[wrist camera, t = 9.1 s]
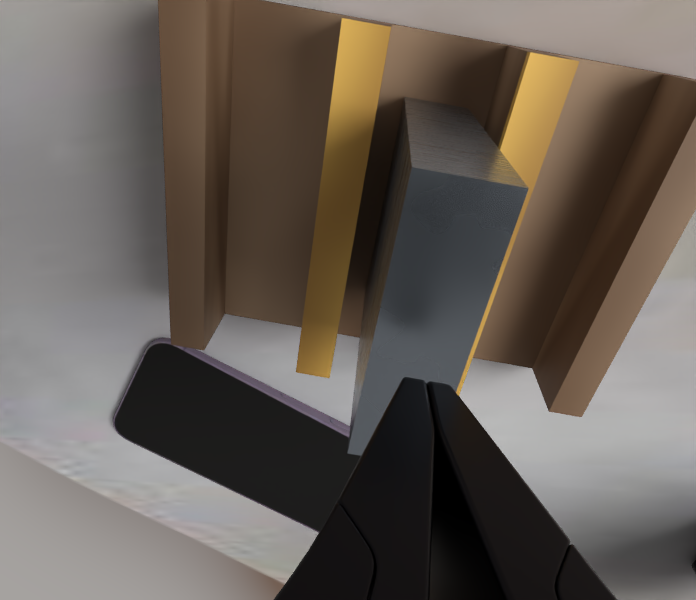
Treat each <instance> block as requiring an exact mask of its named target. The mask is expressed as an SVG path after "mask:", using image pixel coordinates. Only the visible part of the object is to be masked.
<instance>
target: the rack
mask: <svg viewBox="0 0 696 600" xmlns="http://www.w3.org/2000/svg"><path fill="white" fill-rule="evenodd" d="M158 11H159V38H160V65H161V91H162V118H163V145H164V172H165V199H166V225H167V252H168V279H169V306H170V332H171V345H176V346H182V347H187V348H193V349H199V350H205V348H206V346H207V344H208V342H209V341H210V339H211V337H212V335H213V334H214V332H215V330H216V328H217V327H218V325H219V323H220V321H221V320H222V318H223V316H224V314H230V315H235V316H241V317H247V318H252V319H258V320H263V321H269V322H275V323H280V324H286V325H292V326H297V327H302V329H301V337H300V345H299V353H298V360H297V368H296V372H298V373H303V374H309V375H315V376H320V377H326V378H329V377H330V372H331V366H332V361H333V355H334V350H335V344H336V339H337V334H342V335H348V336H354V337H359V338H360V333H361V324H362V315H363V306H364V297H365V289H366V284H367V279H368V274H369V269H370V265H371V260H372V255H373V250H374V245H375V240H376V235H377V230H378V225H379V220H380V215H381V210H382V205H383V200H384V195H385V190H386V186H387V181H388V176H389V171H390V166H391V161H392V156H393V151H394V146H395V141H396V136H397V131H398V126H399V121H400V116H401V112H402V107H403V102H404V97H409V98H414V99H420V100H425V101H431V102H436V103H442V104H447V105H453V106H458V107H464V108H468V109H469V110H470V111H471V113H472V114H473V115H474V117H475V118H476V119H477V120H478V122H479V123H480V124H481V126H482V127H483V128H484V130H485V131H486V132H487V134H488V135H489V136H490V138H491V139H492V140H493V142H494V143H495V144H496V146H497V147H498V148H499V150H500V151H501V152H502V153H503V155H504V156H505V157H506V159H507V160H508V161H509V163H510V164H511V165H512V167H513V168H514V169H515V171H516V172H517V173H518V175H519V176H520V177H521V179H522V180H523V181H524V183H525V184H526V185H527V186H528V188H529V189H528V192H527V195H526V198H525V201H524V203H523V206H522V209H521V212H520V215H519V217H518V220H517V223H516V226H515V229H514V231H513V234H512V237H511V240H510V243H509V245H508V248H507V251H506V254H505V257H504V259H503V262H502V265H501V268H500V271H499V273H498V276H497V279H496V282H495V285H494V287H493V290H492V293H491V296H490V299H489V301H488V304H487V307H486V310H485V313H484V315H483V318H482V321H481V324H480V327H479V329H478V332H477V335H476V338H475V341H474V343H473V346H472V349H471V352H470V355H469V357H468V360H467V363H466V366H465V369H464V371H463V374H462V377H461V380H460V383H459V385H458V388H457V391H456V393H457V394H458V396H459V394H460V391H461V388H462V386H463V383H464V380H465V377H466V375H467V372H468V369H469V366H470V363H471V361H472V358H478V359H483V360H489V361H495V362H500V363H506V364H512V365H517V366H523V367H528V368H532V369H533V371H534V374H535V377H536V379H537V382H538V384H539V387H540V390H541V392H542V395H543V397H544V400H545V403H546V405H547V408H548V410H549V412H555V413H561V414H566V415H572V416H578V417H582V415H583V414H584V412H585V410H586V408H587V406H588V405H589V403H590V401H591V399H592V397H593V395H594V394H595V392H596V390H597V388H598V386H599V384H600V383H601V381H602V379H603V377H604V375H605V374H606V372H607V370H608V368H609V366H610V364H611V363H612V361H613V359H614V357H615V355H616V353H617V352H618V350H619V348H620V346H621V344H622V343H623V341H624V339H625V337H626V335H627V333H628V332H629V330H630V328H631V326H632V324H633V322H634V321H635V319H636V317H637V315H638V313H639V312H640V310H641V308H642V306H643V304H644V302H645V301H646V299H647V297H648V295H649V293H650V291H651V290H652V288H653V286H654V284H655V282H656V280H657V279H658V277H659V275H660V273H661V271H662V270H663V268H664V266H665V264H666V262H667V260H668V259H669V257H670V255H671V253H672V251H673V249H674V248H675V246H676V244H677V242H678V240H679V239H680V237H681V235H682V233H683V231H684V229H685V228H686V226H687V224H688V222H689V220H690V218H691V217H692V215H693V213H694V211H695V209H696V79H691V78H687V77H681V76H676V75H670V74H665V73H659V72H654V71H648V70H643V69H637V68H632V67H626V66H621V65H615V64H610V63H604V62H599V61H593V60H588V59H582V58H577V57H571V56H566V55H560V54H555V53H549V52H544V51H538V50H533V49H527V48H522V47H516V46H511V45H505V44H500V43H494V42H489V41H483V40H478V39H472V38H467V37H461V36H456V35H450V34H445V33H439V32H434V31H428V30H423V29H418V28H412V27H407V26H401V25H396V24H390V23H385V22H379V21H374V20H368V19H363V18H357V17H352V16H346V15H341V14H335V13H330V12H324V11H319V10H313V9H308V8H302V7H297V6H291V5H286V4H280V3H275V2H269V1H264V0H158Z"/></svg>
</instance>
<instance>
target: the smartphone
mask: <svg viewBox="0 0 696 600" xmlns="http://www.w3.org/2000/svg"><path fill="white" fill-rule="evenodd" d="M113 425H114V428H115V430H116V431H117V433H118V434H119V435H121V436H122V437H123V438H125V439H126V440H128V441H130V442H132V443H134V444H136V445H138V446H140V447H142V448H144V449H147V450H149V451H151V452H153V453H155V454H157V455H159V456H161V457H163V458H165V459H167V460H169V461H171V462H174V463H176V464H178V465H180V466H182V467H184V468H186V469H188V470H190V471H192V472H194V473H196V474H199V475H201V476H203V477H205V478H207V479H209V480H211V481H213V482H215V483H217V484H219V485H221V486H223V487H226V488H228V489H230V490H232V491H234V492H236V493H238V494H240V495H242V496H244V497H246V498H248V499H251V500H253V501H255V502H257V503H259V504H261V505H263V506H265V507H267V508H269V509H271V510H273V511H275V512H278V513H280V514H282V515H284V516H286V517H288V518H290V519H292V520H294V521H296V522H298V523H300V524H302V525H305V526H307V527H309V528H311V529H313V530H315V531H317V532H320V530H321V529H322V527H323V525H324V524H325V522H326V520H327V518H328V516H329V514H330V512H331V511H332V509H333V507H334V505H335V504H336V503H337V500H338V498H339V496H340V494H341V492H342V491H343V489H344V487H345V485H346V483H347V481H348V479H349V478H350V476H351V474H352V472H353V470H354V468H355V466H356V464H357V463H358V461H359V459H360V457H361V456H360V455H354V454H348V453H347V452H348V443H349V434H350V426H348V425H346V424H344V423H342V422H340V421H338V420H336V419H334V418H332V417H330V416H328V415H326V414H324V413H322V412H320V411H318V410H316V409H314V408H312V407H310V406H308V405H306V404H304V403H302V402H300V401H298V400H296V399H294V398H292V397H290V396H288V395H286V394H284V393H282V392H280V391H278V390H276V389H274V388H272V387H270V386H268V385H266V384H264V383H262V382H260V381H258V380H256V379H254V378H252V377H250V376H248V375H246V374H244V373H242V372H240V371H238V370H236V369H234V368H232V367H230V366H228V365H226V364H224V363H222V362H220V361H218V360H216V359H214V358H212V357H210V356H208V355H206V354H204V353H202V352H200V351H198V350H196V349H193V348H187V347H182V346H176V345H171V339H170V338H159V339H156V340H154V341H153V342H152V343H150V344H149V346H148V347H147V348H146V350H145V352H144V354H143V356H142V358H141V360H140V362H139V364H138V366H137V369H136V371H135V373H134V375H133V377H132V379H131V381H130V383H129V386H128V388H127V390H126V392H125V394H124V396H123V398H122V400H121V402H120V405H119V407H118V409H117V411H116V413H115V415H114V418H113Z"/></svg>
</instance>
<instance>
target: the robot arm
mask: <svg viewBox="0 0 696 600" xmlns="http://www.w3.org/2000/svg"><path fill="white" fill-rule="evenodd" d="M692 568H693V570H694V571H695V573H696V561H695V562H694V563H693V564H692ZM274 600H617V599H616V598H615V596H614V595H613V594H612V593H611V591H610V590H609V589H608V588H607V586H606V585H605V584H604V583H603V581H602V580H601V579H600V578H599V576H598V575H597V574H596V573H595V571H594V570H593V569H592V568H591V566H590V565H589V564H588V563H587V561H586V560H585V559H584V557H583V556H582V555H581V553H580V552H579V551H578V550H577V548H576V547H575V546H574V545H570V540H569V538H568V537H567V536H566V534H565V533H564V532H563V530H562V529H561V528H560V527H559V525H558V524H557V523H556V521H555V520H554V519H553V518H552V516H551V515H550V514H549V512H548V511H547V510H546V508H545V507H544V506H543V505H542V503H541V502H540V501H539V499H538V498H537V497H536V496H535V494H534V493H533V492H532V490H531V489H530V488H529V486H528V485H527V484H526V483H525V481H524V480H523V479H522V477H521V476H520V475H519V473H518V472H517V471H516V470H515V468H514V467H513V466H512V464H511V463H510V462H509V461H508V459H507V458H506V457H505V455H504V454H503V453H502V451H501V450H500V449H499V448H498V446H497V445H496V444H495V442H494V441H493V440H492V439H491V437H490V436H489V435H488V433H487V432H486V431H485V429H484V428H483V427H482V426H481V424H480V423H479V422H478V420H477V419H476V418H475V416H474V415H473V414H472V413H471V411H470V410H469V409H468V407H467V406H466V405H465V404H464V402H463V401H462V400H461V398H460V397H459V396H458V394H457V393H456V392H455V391H454V389H453V388H452V387H451V386H450V385H448V384H444V383H438V382H432V381H429V382H427V383H426V382H425V381H424V380H421V379H415V378H410V377H404V378H403V379H402V380H401V382H400V384H399V386H398V388H397V390H396V392H395V393H394V395H393V397H392V399H391V401H390V403H389V405H388V406H387V408H386V410H385V412H384V414H383V416H382V418H381V420H380V421H379V423H378V425H377V427H376V429H375V431H374V433H373V435H372V436H371V438H370V440H369V442H368V444H367V446H366V448H365V449H364V451H363V453H362V455H361V457H360V459H359V461H358V463H357V464H356V466H355V468H354V470H353V472H352V474H351V476H350V478H349V479H348V481H347V483H346V485H345V487H344V489H343V491H342V492H341V494H340V496H339V498H338V500H337V503H336V504H335V505H334V507H333V509H332V511H331V512H330V514H329V516H328V518H327V520H326V522H325V524H324V525H323V527H322V529H321V530H320V532H319V534H318V535H317V537H316V539H315V541H314V542H313V544H312V546H311V547H310V549H309V551H308V552H307V554H306V555H305V556H304V558H303V559H302V561H301V562H300V564H299V565H298V567H297V568H296V569H295V571H294V572H293V574H292V575H291V577H290V578H289V580H288V581H287V582H286V584H285V585H284V587H283V588H282V589H281V591H280V592H279V593H278V594H277V596H276V597H275V599H274Z"/></svg>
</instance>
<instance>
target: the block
mask: <svg viewBox="0 0 696 600" xmlns="http://www.w3.org/2000/svg"><path fill="white" fill-rule="evenodd" d="M528 189H529V188H528V186H527V185H526V184H525V183H524V181H523V180H522V179H521V177H520V176H519V175H518V173H517V172H516V171H515V169H514V168H513V167H512V165H511V164H510V163H509V161H508V160H507V159H506V157H505V156H504V155H503V153H502V152H501V151H500V150H499V148H498V147H497V146H496V144H495V143H494V142H493V140H492V139H491V138H490V136H489V135H488V134H487V132H486V131H485V130H484V128H483V127H482V126H481V124H480V123H479V122H478V120H477V119H476V118H475V117H474V115H473V114H472V113H471V111H470V110H469V109H468V108H464V107H458V106H453V105H447V104H442V103H436V102H431V101H425V100H420V99H414V98H409V97H404V102H403V107H402V112H401V116H400V121H399V126H398V131H397V136H396V141H395V146H394V151H393V156H392V161H391V166H390V171H389V176H388V181H387V186H386V190H385V195H384V200H383V205H382V210H381V215H380V220H379V225H378V230H377V235H376V240H375V245H374V250H373V255H372V260H371V265H370V269H369V274H368V279H367V284H366V289H365V297H364V306H363V315H362V324H361V333H360V342H359V352H358V361H357V370H356V379H355V388H354V397H353V407H352V416H351V425H350V434H349V443H348V452H347V453H348V454H354V455H360V456H361V455H362V453H363V451H364V449H365V448H366V446H367V444H368V442H369V440H370V438H371V436H372V435H373V433H374V431H375V429H376V427H377V425H378V423H379V421H380V420H381V418H382V416H383V414H384V412H385V410H386V408H387V406H388V405H389V403H390V401H391V399H392V397H393V395H394V393H395V392H396V390H397V388H398V386H399V384H400V382H401V380H402V379H403V378H404V377H410V378H415V379H421V380H424V381H425V382H426V383H427V382H429V381H432V382H438V383H444V384H448V385H450V386H451V387H452V388H453V389H454V391H455V392H456V391H457V388H458V385H459V383H460V380H461V377H462V374H463V371H464V369H465V366H466V363H467V360H468V357H469V355H470V352H471V349H472V346H473V343H474V341H475V338H476V335H477V332H478V329H479V327H480V324H481V321H482V318H483V315H484V313H485V310H486V307H487V304H488V301H489V299H490V296H491V293H492V290H493V287H494V285H495V282H496V279H497V276H498V273H499V271H500V268H501V265H502V262H503V259H504V257H505V254H506V251H507V248H508V245H509V243H510V240H511V237H512V234H513V231H514V229H515V226H516V223H517V220H518V217H519V215H520V212H521V209H522V206H523V203H524V201H525V198H526V195H527V192H528Z"/></svg>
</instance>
